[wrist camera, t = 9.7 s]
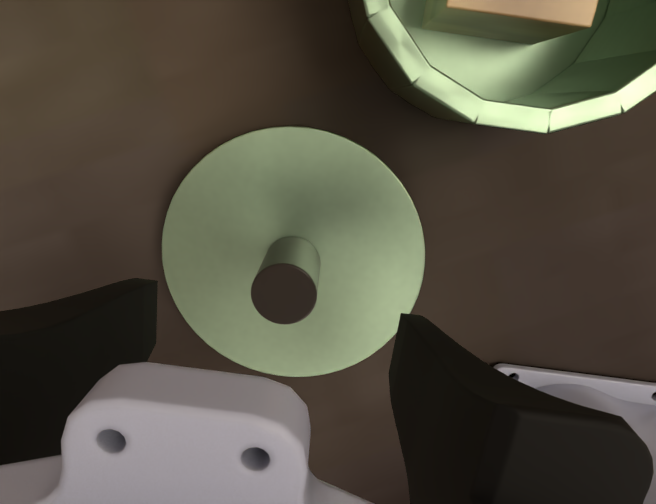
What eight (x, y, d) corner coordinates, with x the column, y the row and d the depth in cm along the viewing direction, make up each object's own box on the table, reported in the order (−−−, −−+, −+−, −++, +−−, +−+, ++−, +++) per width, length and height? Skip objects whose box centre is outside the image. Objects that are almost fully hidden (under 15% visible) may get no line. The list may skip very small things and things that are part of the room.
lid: (444, 144, 20) (476, 156, 15) (397, 378, 23) (411, 444, 19) (173, 107, 20) (124, 108, 15) (166, 349, 23) (125, 409, 18)
